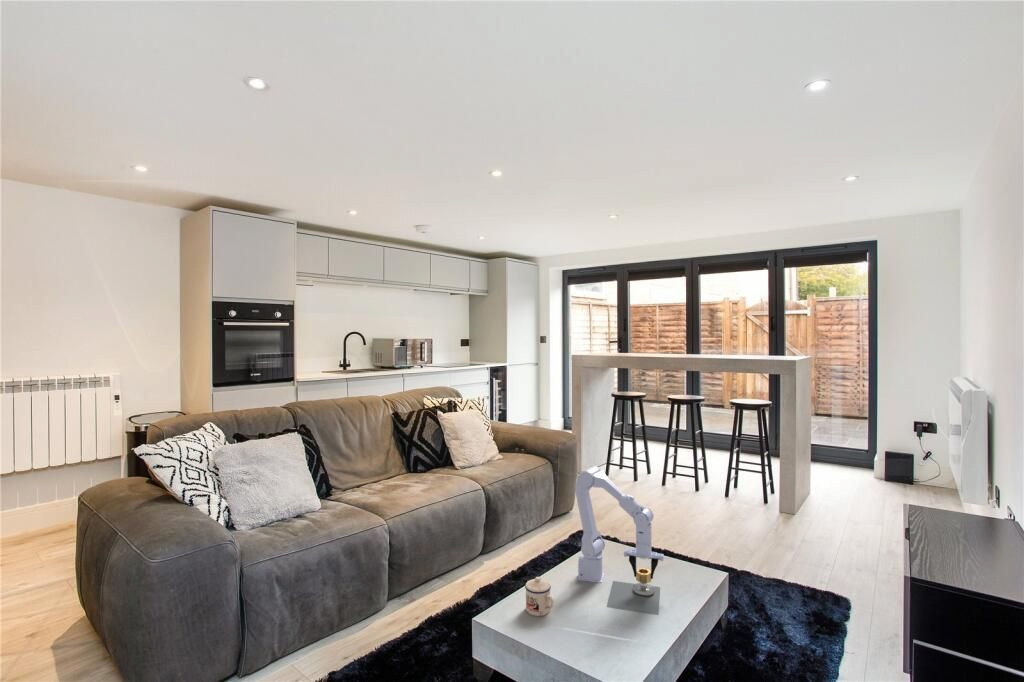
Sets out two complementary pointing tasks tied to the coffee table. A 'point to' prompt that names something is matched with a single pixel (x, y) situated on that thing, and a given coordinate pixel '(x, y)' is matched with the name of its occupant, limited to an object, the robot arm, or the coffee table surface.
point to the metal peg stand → (643, 589)
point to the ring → (643, 575)
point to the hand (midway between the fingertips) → (643, 576)
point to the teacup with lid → (538, 597)
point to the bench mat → (633, 599)
